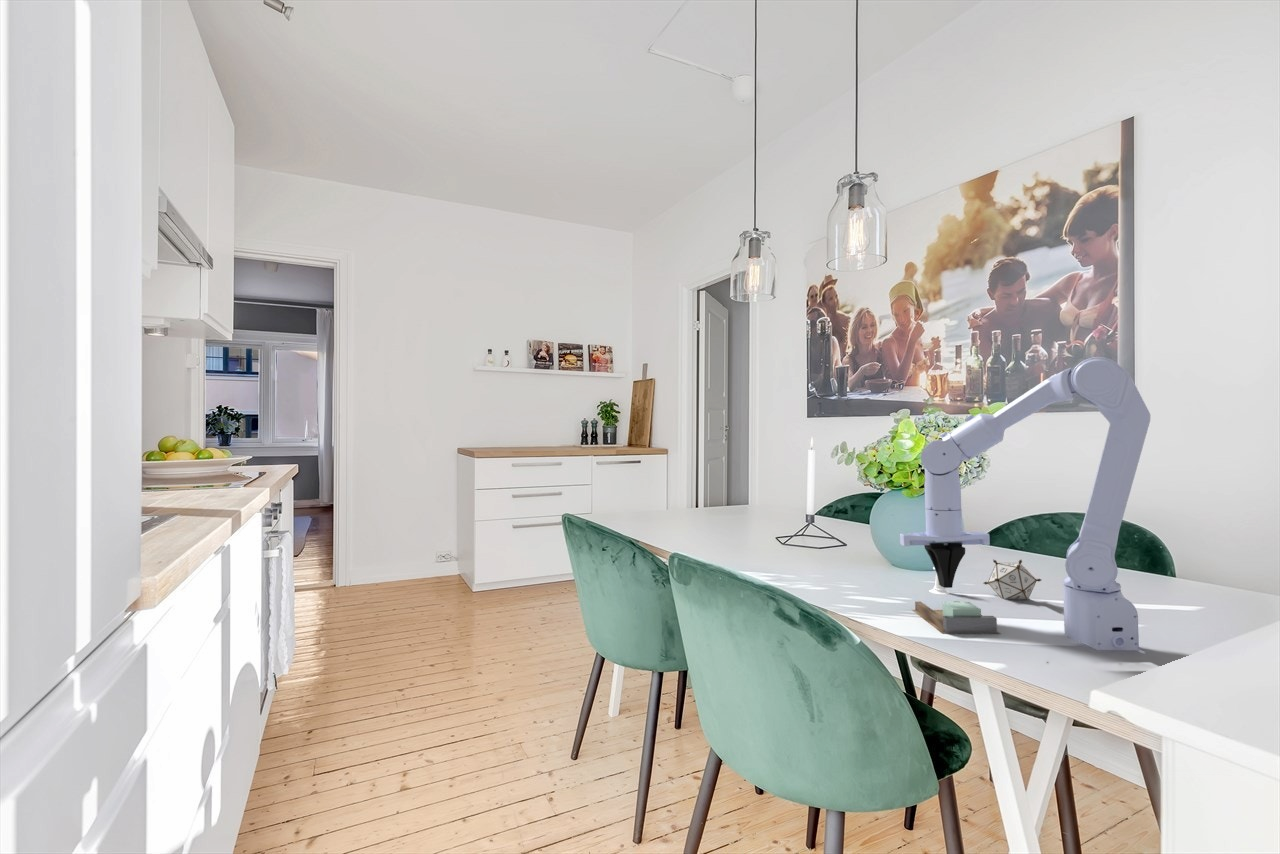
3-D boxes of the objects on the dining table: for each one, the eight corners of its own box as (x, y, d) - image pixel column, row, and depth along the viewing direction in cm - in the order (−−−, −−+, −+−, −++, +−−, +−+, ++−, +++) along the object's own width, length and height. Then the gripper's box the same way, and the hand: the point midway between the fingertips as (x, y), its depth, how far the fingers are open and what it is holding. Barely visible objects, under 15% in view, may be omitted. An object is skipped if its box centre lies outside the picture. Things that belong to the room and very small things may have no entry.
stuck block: (981, 630, 98) (980, 609, 98) (953, 630, 98) (952, 609, 98) (969, 622, 102) (969, 602, 102) (942, 622, 102) (942, 602, 102)
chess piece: (938, 600, 119) (937, 549, 119) (920, 594, 124) (919, 545, 124) (959, 598, 120) (957, 548, 120) (940, 592, 125) (939, 543, 125)
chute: (1001, 640, 97) (1000, 618, 97) (942, 639, 97) (942, 618, 97) (963, 615, 110) (962, 595, 110) (912, 615, 110) (911, 596, 110)
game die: (1014, 618, 119) (1033, 574, 121) (1037, 615, 111) (1056, 568, 113) (969, 593, 121) (989, 551, 124) (988, 589, 113) (1008, 543, 116)
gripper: (974, 505, 110) (977, 580, 110) (892, 506, 111) (895, 581, 111) (994, 510, 103) (997, 590, 103) (907, 511, 104) (909, 591, 104)
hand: (945, 586), depth 106 cm, fingers closed
